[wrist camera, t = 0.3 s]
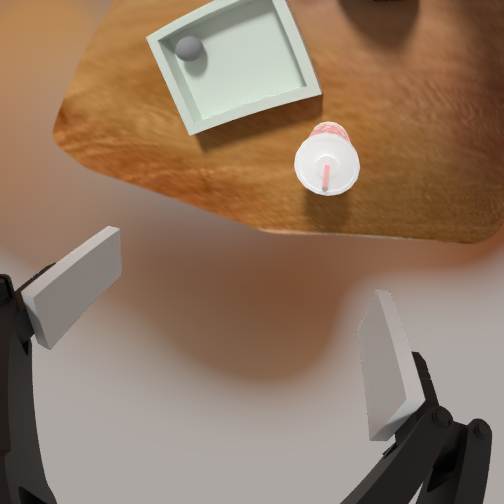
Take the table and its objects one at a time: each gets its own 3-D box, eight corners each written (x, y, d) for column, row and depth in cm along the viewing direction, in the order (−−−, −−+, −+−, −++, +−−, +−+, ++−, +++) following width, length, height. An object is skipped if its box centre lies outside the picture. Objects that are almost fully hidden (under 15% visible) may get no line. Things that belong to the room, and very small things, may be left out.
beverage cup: (302, 115, 32) (282, 151, 22) (354, 115, 30) (364, 153, 20) (305, 163, 36) (288, 221, 25) (355, 164, 34) (361, 224, 23)
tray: (280, -16, 23) (274, -22, 20) (322, 90, 30) (321, 94, 27) (161, 36, 29) (146, 37, 26) (201, 128, 36) (189, 135, 33)
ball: (202, 32, 27) (190, 31, 25) (211, 54, 29) (200, 55, 26) (179, 43, 29) (166, 44, 26) (188, 64, 30) (176, 67, 28)
